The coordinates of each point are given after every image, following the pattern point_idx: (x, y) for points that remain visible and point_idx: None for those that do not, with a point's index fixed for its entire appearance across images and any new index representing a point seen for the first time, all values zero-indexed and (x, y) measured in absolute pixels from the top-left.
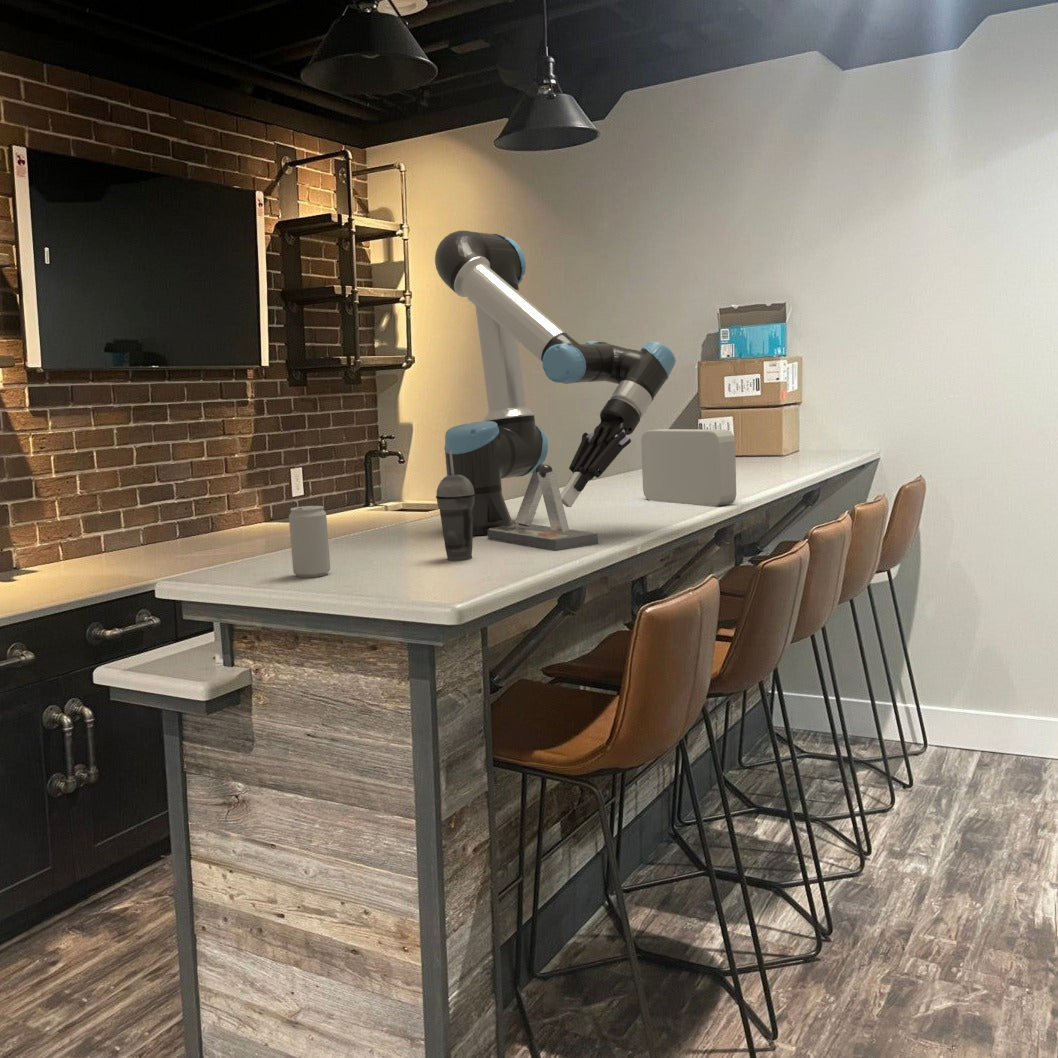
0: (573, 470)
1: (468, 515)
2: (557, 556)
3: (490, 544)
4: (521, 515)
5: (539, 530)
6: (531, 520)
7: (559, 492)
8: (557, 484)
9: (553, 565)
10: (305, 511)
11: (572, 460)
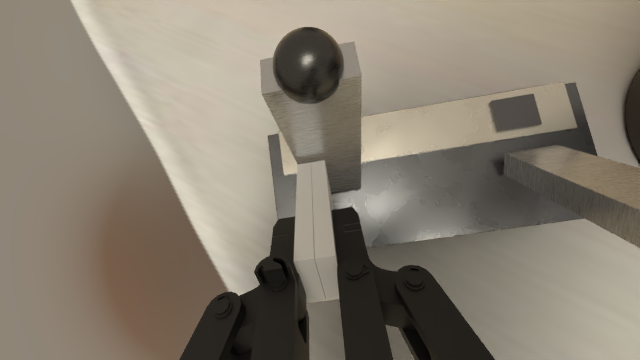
0: (365, 264)
1: None
2: (213, 115)
3: (463, 69)
4: (552, 154)
5: (444, 176)
6: (514, 176)
7: (290, 147)
8: (282, 131)
9: (140, 70)
10: None
11: (471, 328)
